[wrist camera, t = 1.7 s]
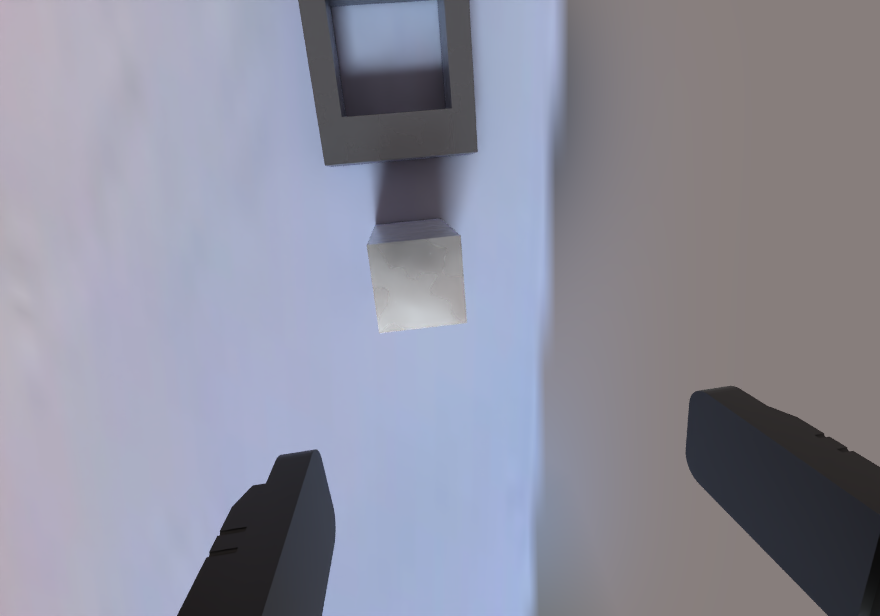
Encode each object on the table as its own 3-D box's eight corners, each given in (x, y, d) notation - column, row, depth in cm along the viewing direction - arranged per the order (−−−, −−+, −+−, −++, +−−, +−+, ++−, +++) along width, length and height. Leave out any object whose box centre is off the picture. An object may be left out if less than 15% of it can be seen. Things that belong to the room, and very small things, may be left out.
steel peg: (383, 288, 26) (379, 333, 19) (375, 224, 25) (366, 244, 18) (446, 281, 27) (466, 323, 19) (440, 218, 26) (460, 235, 18)
